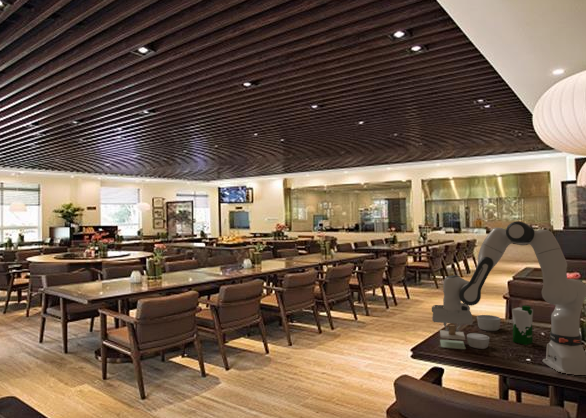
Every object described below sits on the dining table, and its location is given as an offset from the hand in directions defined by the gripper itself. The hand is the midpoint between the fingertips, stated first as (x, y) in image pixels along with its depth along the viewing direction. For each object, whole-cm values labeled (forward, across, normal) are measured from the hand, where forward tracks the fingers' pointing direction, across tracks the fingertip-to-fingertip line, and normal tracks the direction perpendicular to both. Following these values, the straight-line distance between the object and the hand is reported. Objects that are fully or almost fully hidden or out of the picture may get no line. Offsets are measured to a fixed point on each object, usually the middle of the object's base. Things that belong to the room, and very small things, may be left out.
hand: (452, 331), depth 226 cm
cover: (+2, 0, 0) cm, 2 cm away
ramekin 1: (+7, +24, +39) cm, 46 cm away
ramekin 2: (+7, +13, +1) cm, 15 cm away
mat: (+7, 0, 0) cm, 7 cm away
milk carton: (+7, +37, +14) cm, 40 cm away
